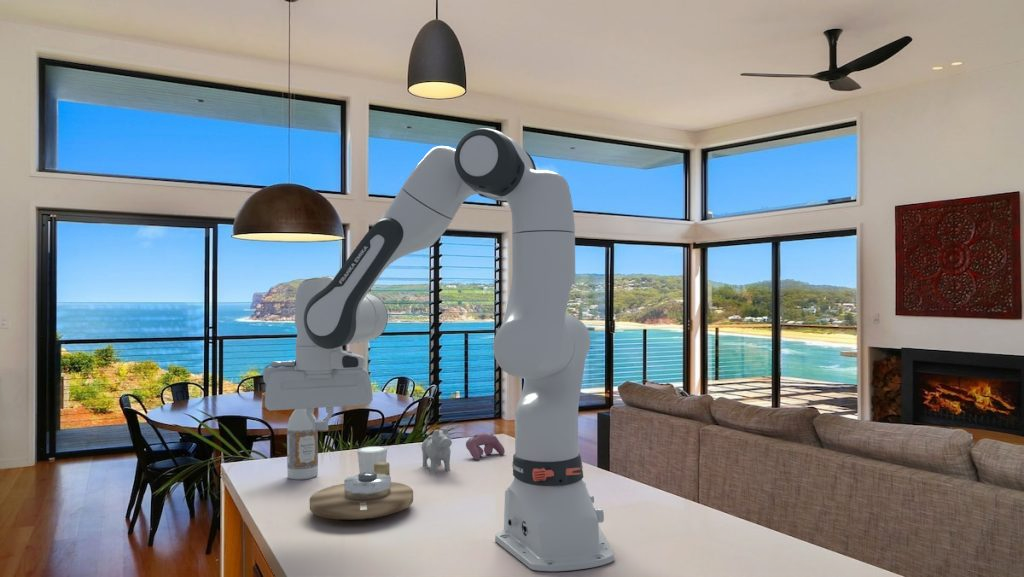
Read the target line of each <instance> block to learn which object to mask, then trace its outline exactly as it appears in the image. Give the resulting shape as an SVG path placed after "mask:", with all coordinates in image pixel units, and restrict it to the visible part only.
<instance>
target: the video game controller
mask: <svg viewBox="0 0 1024 577" xmlns="http://www.w3.org/2000/svg"><path fill="white" fill-rule="evenodd" d="M481 446H483V448H482V447H481ZM465 447H466V449H467V450H468V452H469V454H470V456H471V457H472V458H473V459H474V460H475V461H478V460H480V458H481V456H483V455H484V454H486V455H487V456H489V455H491V454H492V453H493V451H494V450H495V451H496V452H497V453H498V454H499V455H501V456H504V455H505V448H504V446H503V444H502V443H501V441H500V440H499V439H498V437H497V436H496V435H494V433H485V432H484V433H479V434H475V435H472V436H470V437H469V439H467V440H466V442H465Z"/></svg>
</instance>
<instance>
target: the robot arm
mask: <svg viewBox="0 0 1024 577" xmlns="http://www.w3.org/2000/svg"><path fill="white" fill-rule="evenodd" d="M474 195H478V196H479V197H483V198H487V199H491V200H494V201H496V202H500V203H507V204H508V205H509V208H510V212H511V223H512V224H511V229H512V230H511V234H512V235H511V236H512V237H511V240H512V241H511V242H512V243H511V244H512V245H511V248H512V250H511V251H512V252H511V253H512V254H511V255H512V258H511V259H512V271H511V272H512V274H511V276H512V277H511V285H510V291H509V295H508V300H507V305H506V309H505V314H504V318H503V320H502V321H503V322H502V323H501V325H500V327H499V328H498V330H497V332H496V334H495V336H494V339H493V344H492V345H493V346H492V348H493V355H494V358H495V361H496V362H497V365H498V366H499V367H500V368H501V370H503V371H504V372H505V373H507V375H510V376H512V377H515V378H520V379H524V380H523V381H524V382H523V388H522V392H521V395H520V398H519V400H518V403H517V404H516V406H515V411H514V441H515V443H514V446H515V447H514V451H515V452H514V454H513V456H512V463H511V465H512V466H511V467H512V476H513V477H514V478H513V480H512V482H511V483H510V485H509V486H508V487H507V489H505V492H504V509H503V510H504V512H503V530H500V531H498V532H497V533H496V534H495V538H494V541H495V543H497V544H499V545H500V546H501V547H502V548H504V549H505V550H506V551H508V552H509V553H510V554H511V555H513V557H515V558H516V559H517V560H519V561H520V562H521V563H523V565H525V566H526V567H528V569H530V570H533V571H538V572H565V571H567V572H569V571H576V570H584V569H590V568H596V567H601V566H604V565H607V564H610V563H611V562H614V561H615V554H614V551H613V549H612V548H611V546H610V543H609V542H608V540H607V539H606V537H605V535H604V532H603V531H602V529H601V527H600V525H599V524H600V523H601V524H602V523H603V522H604V520H605V517H604V515H605V514H604V510H603V508H601V507H597V508H596V507H595V508H594V503H595V497H594V495H593V494H590V493H589V491H588V488H587V484H586V483H585V481H583V478H584V471H583V470H584V469H583V468H584V467H583V462H582V456H581V454H580V453H579V406H580V397H581V392H582V391H581V390H582V384H583V378H584V372H585V366H586V364H585V363H586V358H587V356H588V354H589V351H590V347H591V336H590V332H589V329H588V328H587V326H586V325H585V323H584V322H583V321H582V320H580V319H578V318H577V317H575V316H573V315H571V314H569V313H567V308H568V302H569V297H570V293H571V289H572V286H573V284H574V283H575V280H576V234H575V232H576V229H575V216H574V206H573V201H572V195H571V191H570V186H569V183H568V181H567V179H565V176H563V175H561V174H560V173H557V172H555V171H552V170H551V171H550V170H546V169H545V170H543V169H541V170H540V169H539V170H537V167H536V164H535V161H534V160H533V158H532V156H531V155H530V154H529V152H527V151H526V150H524V148H522V146H521V145H520V144H519V143H518V142H517V141H516V140H514V139H513V138H511V137H509V136H507V135H506V134H504V132H501V131H499V130H496V129H493V128H485V127H484V128H477V129H474V130H472V131H469V132H467V133H466V134H465V135H464V136H463V137H462V138H461V139H460V141H459V142H458V144H457V146H456V147H455V148H454V147H451V146H447V145H438V146H435V147H432V148H431V149H430V150H429V151H428V152H427V153H426V154H425V155H424V156H423V158H422V159H421V160H420V161H419V162H418V164H417V165H416V166H415V167H414V169H412V171H411V173H410V174H409V176H408V177H407V179H406V180H405V182H404V183H403V185H402V187H401V188H400V190H399V191H398V193H397V195H395V198H394V199H393V200H392V201H391V204H390V205H389V206H388V207H387V209H386V210H385V212H384V213H383V214H382V216H381V217H380V218H379V219H378V220H376V222H375V223H374V224H373V225H372V227H371V228H370V229H369V230H368V231H367V232H366V233H365V235H364V236H363V237H362V239H361V240H360V242H359V243H358V244H357V245H356V246H355V249H353V251H352V252H351V254H350V255H349V257H348V258H347V259H346V261H345V262H344V264H343V265H342V267H341V268H339V271H338V272H337V273H336V275H335V276H332V275H330V276H329V275H323V276H316V277H310V278H308V279H305V280H303V281H302V282H300V283H299V285H298V286H297V291H296V294H295V299H294V300H295V302H294V304H295V305H294V324H295V325H294V326H295V327H296V332H297V335H296V339H295V340H296V341H295V344H294V345H295V347H294V348H295V359H294V360H286V361H271V363H269V364H267V365H265V366H264V369H263V371H262V378H263V379H262V380H263V382H264V384H265V385H266V387H265V392H264V393H265V394H264V395H265V396H264V407H265V408H266V409H267V410H268V411H269V412H271V411H287V410H295V409H306V414H307V416H308V418H309V419H310V421H311V422H312V427H313V431H318V432H323V431H324V432H326V431H329V421H330V419H331V417H332V416H333V415H334V413H335V412H334V408H336V407H337V408H338V407H354V406H355V407H357V406H368V405H370V404H371V403H372V402H373V389H372V388H373V387H372V382H371V377H370V374H369V372H368V370H367V369H366V368H365V365H366V358H365V357H364V355H361V354H358V353H355V352H352V351H346V350H344V349H343V346H345V345H346V346H347V345H355V344H360V343H366V342H370V341H372V340H375V339H377V338H379V337H380V336H381V335H382V334H383V333H384V331H385V330H386V328H387V324H388V321H389V320H388V319H389V315H388V310H387V306H386V304H385V303H384V302H383V300H382V299H381V298H379V297H378V296H376V295H374V294H370V293H369V292H370V290H371V289H372V288H373V286H374V285H375V283H376V282H377V281H378V280H379V278H380V277H381V275H382V274H383V273H384V271H385V270H386V269H387V268H388V267H389V266H390V265H392V264H393V263H394V262H396V261H397V260H399V259H400V258H403V257H404V256H407V255H410V254H412V253H415V252H419V251H422V250H425V249H427V248H430V247H432V246H433V245H434V244H435V243H436V242H437V241H438V240H439V239H440V238H441V237H442V236H443V235H444V233H445V232H446V230H447V229H448V228H449V226H450V224H452V221H453V219H454V217H456V214H457V213H458V211H459V210H460V208H461V206H463V203H464V202H465V201H466V200H467V199H468V198H469V197H471V196H474ZM319 408H320V409H321V408H325V413H327V415H326V417H325V419H324V420H317V419H316V420H315V418H316V417H315V418H314V416H315V415H314V416H313V415H312V414H314V413H315V409H319Z"/></svg>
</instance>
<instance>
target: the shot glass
mask: <svg viewBox="0 0 1024 577" xmlns="http://www.w3.org/2000/svg"><path fill="white" fill-rule="evenodd" d="M356 452H357V459H358V460H357V462H358V469H359V470H358V471H359V474H360V473H363V472H374V464H375V463H379V462H387V457H388V456H387V454H388V447H386V446H381V445H372V446H365V447H359V448H358V449H357V451H356Z"/></svg>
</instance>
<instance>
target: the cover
mask: <svg viewBox="0 0 1024 577" xmlns="http://www.w3.org/2000/svg"><path fill="white" fill-rule="evenodd" d="M391 478H392V477H391V475H390V476H389V475H386V474H379V473H376V472H363V473H360V472H359V473H358V474H355V475H351V476H349V477H346V478H344V483H343V484H344V497H345V498H346V499H348V500H353V501H372V500H378V499H382V498H385V497H387V496H389V495H390V494H391V482H392V480H391Z"/></svg>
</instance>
